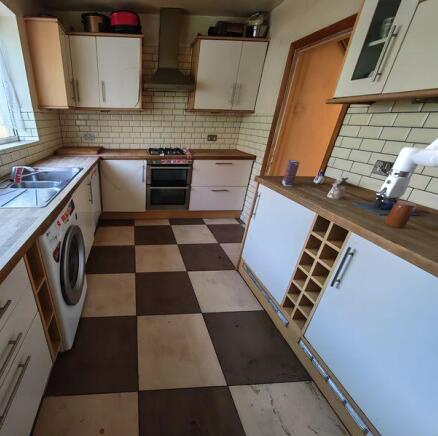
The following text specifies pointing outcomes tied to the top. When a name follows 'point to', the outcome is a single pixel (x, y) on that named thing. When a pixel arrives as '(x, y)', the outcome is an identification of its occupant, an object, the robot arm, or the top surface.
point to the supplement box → (290, 172)
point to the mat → (370, 207)
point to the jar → (400, 214)
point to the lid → (389, 203)
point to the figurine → (338, 189)
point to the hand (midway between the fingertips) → (382, 207)
